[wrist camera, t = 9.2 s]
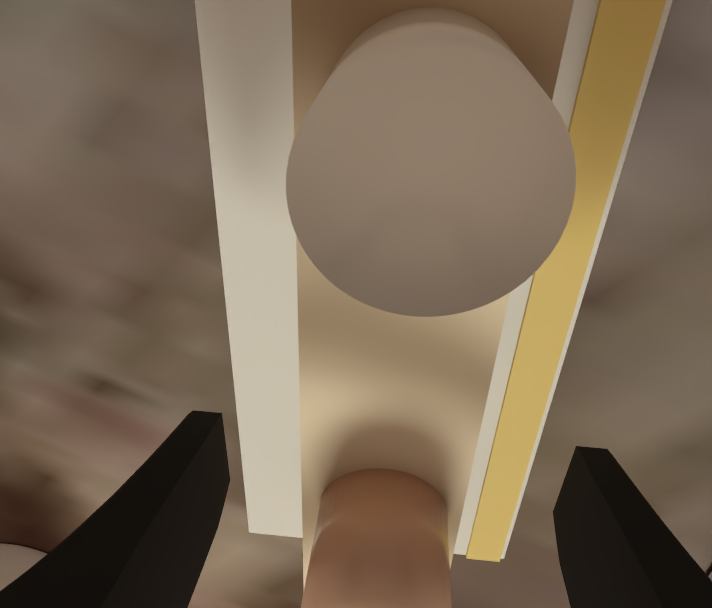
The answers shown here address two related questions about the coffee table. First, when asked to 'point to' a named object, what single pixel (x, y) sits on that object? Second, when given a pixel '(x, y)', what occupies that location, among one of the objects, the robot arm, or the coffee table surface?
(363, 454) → the beige long bar
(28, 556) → the candle holder
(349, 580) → the cylinder
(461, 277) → the taupe tapered cylinder
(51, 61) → the coffee table surface
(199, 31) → the dock
